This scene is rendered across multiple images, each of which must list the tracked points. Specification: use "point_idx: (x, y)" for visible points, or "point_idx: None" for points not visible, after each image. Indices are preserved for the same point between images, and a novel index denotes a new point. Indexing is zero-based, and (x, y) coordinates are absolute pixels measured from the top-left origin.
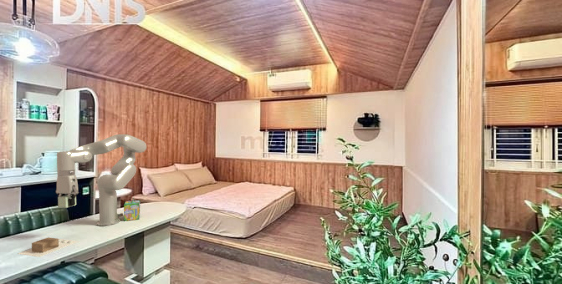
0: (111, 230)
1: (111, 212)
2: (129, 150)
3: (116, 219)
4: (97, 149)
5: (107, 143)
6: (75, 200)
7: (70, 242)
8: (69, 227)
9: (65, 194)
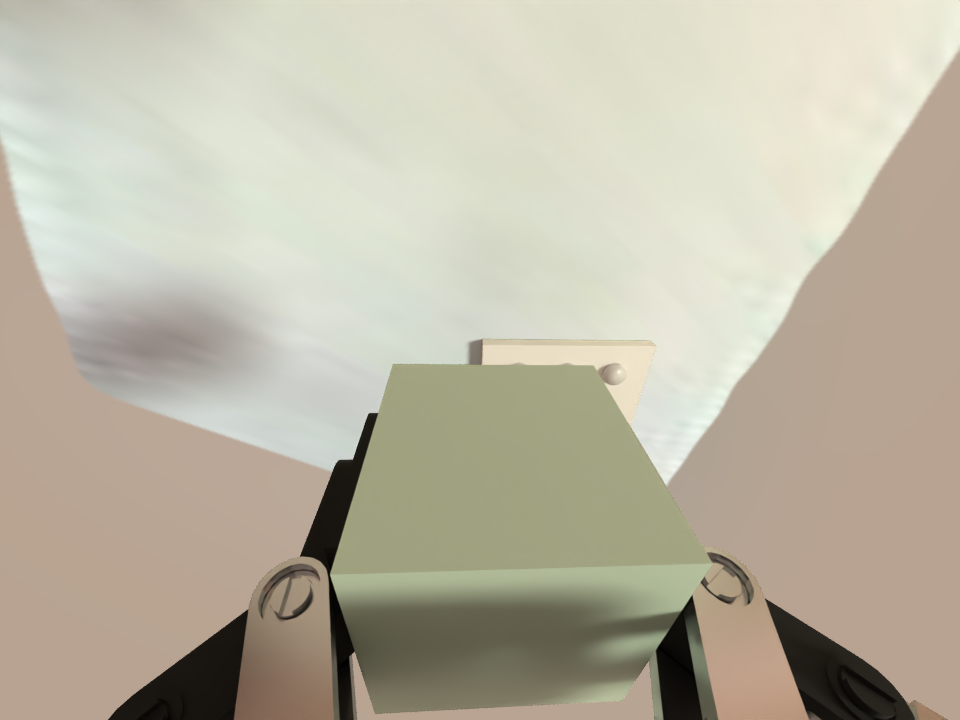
0: (750, 48)
1: None
2: None
3: None
4: None
5: None
6: (629, 442)
7: (622, 376)
8: (217, 64)
9: (334, 673)
